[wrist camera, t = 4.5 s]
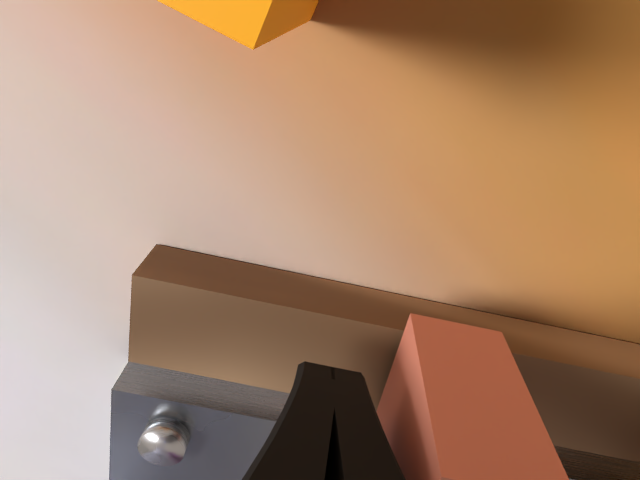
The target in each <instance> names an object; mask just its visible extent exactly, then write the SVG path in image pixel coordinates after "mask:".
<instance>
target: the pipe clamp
mask: <svg viewBox="0 0 640 480" xmlns="http://www.w3.org/2000/svg"><path fill="white" fill-rule="evenodd" d="M157 1H159V2H161V3H163V4H165V5H167V6H169V7H171V8H173V9H175V10H177V11H179V12H181V13H182V14H184V15H186V16H188V17H190V18H192V19H194V20H196V21H198V22H200V23H202V24H204V25H206V26H208V27H210V28H212V29H214V30H216V31H218V32H220V33H221V34H223V35H225V36H227V37H229V38H231V39H233V40H235V41H237V42H239V43H241V44H243V45H245V46H247V47H249V48H251V49H255V48H257V47H259V46H261V45H263V44H265V43H267V42H269V41H271V40H273V39H275V38H277V37H279V36H281V35H283V34H285V33H286V32H288V31H290V30H292V29H294V28H296V27H298V26H300V25H302V24H304V23H306V22H308V21H310V20H311V18H312V15H313V13H314V11H315V8H316V6H317V4H318V2H319V0H157Z"/></svg>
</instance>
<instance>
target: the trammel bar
mask: <svg viewBox="0 0 640 480" xmlns="http://www.w3.org/2000/svg"><path fill="white" fill-rule="evenodd" d="M410 313H412V314H417V315H422V316H427V317H432V318H437V319H441V320H446V321H451V322H456V323H461V324H466V325H471V326H475V327H480V328H485V329H490V330H495V331H500V332H502V333H503V336H504V338H505V340H506V342H507V344H508V347H509V349H510V351H511V353H512V355H513V357H514V360H515V362H516V364H517V366H518V368H519V371H520V373H521V375H522V377H523V379H524V382H525V384H526V386H527V388H528V390H529V393H530V395H531V397H532V399H533V401H534V404H535V406H536V408H537V410H538V412H539V415H540V417H541V419H542V421H543V423H544V426H545V428H546V430H547V432H548V434H549V436H550V439H551V441H552V443H553V445H555V446H560V447H565V448H570V449H575V450H580V451H585V452H590V453H595V454H601V455H606V456H611V457H616V458H621V459H626V460H631V461H636V462H640V344H636V343H631V342H626V341H621V340H617V339H612V338H607V337H602V336H597V335H593V334H588V333H583V332H578V331H573V330H568V329H564V328H559V327H554V326H549V325H544V324H539V323H535V322H530V321H525V320H520V319H515V318H510V317H506V316H501V315H496V314H491V313H486V312H481V311H477V310H472V309H467V308H462V307H457V306H452V305H448V304H443V303H438V302H433V301H428V300H423V299H419V298H414V297H409V296H404V295H399V294H395V293H390V292H385V291H380V290H375V289H370V288H366V287H361V286H356V285H351V284H346V283H341V282H337V281H332V280H327V279H322V278H317V277H312V276H308V275H303V274H298V273H293V272H288V271H283V270H279V269H274V268H269V267H264V266H259V265H254V264H250V263H245V262H240V261H235V260H230V259H225V258H221V257H216V256H211V255H206V254H201V253H197V252H192V251H187V250H182V249H177V248H172V247H168V246H163V245H158V244H156V246H155V247H154V248H153V249H152V251H151V252H150V253H149V254H148V256H147V257H146V258H145V259H144V261H143V262H142V263H141V264H140V266H139V267H138V268H137V270H136V271H135V272H134V273H133V275H132V288H131V311H130V334H129V356H128V361H129V362H134V363H139V364H144V365H149V366H154V367H159V368H165V369H170V370H175V371H180V372H185V373H190V374H195V375H200V376H205V377H210V378H215V379H220V380H225V381H230V382H236V383H241V384H246V385H251V386H256V387H261V388H266V389H271V390H276V391H281V392H286V393H290V392H291V389H292V387H293V384H294V380H295V376H296V371H297V367H298V364H300V363H302V362H304V361H306V362H311V363H316V364H321V365H326V366H331V367H336V368H341V369H346V370H351V371H356V372H361V373H362V375H363V376H364V378H365V381H366V384H367V387H368V390H369V393H370V396H371V399H372V402H373V404H374V407H375V410H377V408H378V405H379V402H380V399H381V396H382V393H383V391H384V388H385V385H386V382H387V379H388V376H389V373H390V370H391V367H392V364H393V362H394V359H395V356H396V353H397V350H398V347H399V344H400V341H401V338H402V336H403V333H404V330H405V327H406V324H407V321H408V318H409V315H410Z"/></svg>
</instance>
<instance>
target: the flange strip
mask: <svg viewBox="0 0 640 480" xmlns="http://www.w3.org/2000/svg"><path fill="white" fill-rule="evenodd" d="M289 394H290V393H286V392H281V391H276V390H271V389H266V388H261V387H256V386H251V385H246V384H241V383H236V382H230V381H225V380H220V379H215V378H210V377H205V376H200V375H195V374H190V373H185V372H180V371H175V370H170V369H165V368H159V367H154V366H149V365H144V364H139V363H134V362H128V364H127V365H126V367H125V368H124V370H123V372H122V373H121V375H120V377H119V378H118V380H117V381H116V383H115V385H114V386H113V388H112V394H111V432H110V471H109V480H242V478H243V477H244V475H245V474H246V472H247V470H248V469H249V467H250V466H251V464H252V462H253V461H254V459H255V458H256V456H257V455H258V453H259V451H260V450H261V448H262V447H263V445H264V443H265V442H266V440H267V438H268V436H269V434H270V432H271V431H272V429H273V427H274V425H275V423H276V421H277V419H278V417H279V416H280V414H281V412H282V410H283V408H284V405H285V403H286V401H287V399H288V397H289ZM376 411H377V410H376ZM554 447H555V450H556V452H557V454H558V456H559V458H560V461H561V463H562V465H563V467H564V469H565V472H566V474H567V476H568V478H569V480H640V462H636V461H631V460H626V459H621V458H616V457H611V456H606V455H601V454H595V453H590V452H585V451H580V450H575V449H570V448H565V447H560V446H555V445H554Z"/></svg>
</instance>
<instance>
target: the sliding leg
mask: <svg viewBox="0 0 640 480" xmlns="http://www.w3.org/2000/svg"><path fill="white" fill-rule="evenodd" d="M376 412H377V415H378V417H379V420H380V423H381V425H382V428H383V430H384V433H385V435H386V437H387V440H388V442H389V444H390V446H391V449H392V451H393V453H394V455H395V458H396V460H397V462H398V464H399V466H400V469H401V471H402V473H403V475H404V477H405V479H406V480H569V478H568V476H567V474H566V472H565V469H564V467H563V465H562V463H561V461H560V458H559V456H558V454H557V452H556V450H555V447H554V445H553V443H552V441H551V439H550V436H549V434H548V432H547V430H546V428H545V426H544V423H543V421H542V419H541V417H540V415H539V412H538V410H537V408H536V406H535V404H534V401H533V399H532V397H531V395H530V393H529V390H528V388H527V386H526V384H525V382H524V379H523V377H522V375H521V373H520V371H519V368H518V366H517V364H516V362H515V360H514V357H513V355H512V353H511V351H510V349H509V347H508V344H507V342H506V340H505V338H504V336H503V333H502V332H500V331H495V330H490V329H485V328H480V327H475V326H471V325H466V324H461V323H456V322H451V321H446V320H441V319H437V318H432V317H427V316H422V315H417V314H412V313H410V315H409V318H408V321H407V324H406V327H405V330H404V333H403V336H402V338H401V341H400V344H399V347H398V350H397V353H396V356H395V359H394V362H393V364H392V367H391V370H390V373H389V376H388V379H387V382H386V385H385V388H384V391H383V393H382V396H381V399H380V402H379V405H378V408H377V411H376Z"/></svg>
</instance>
